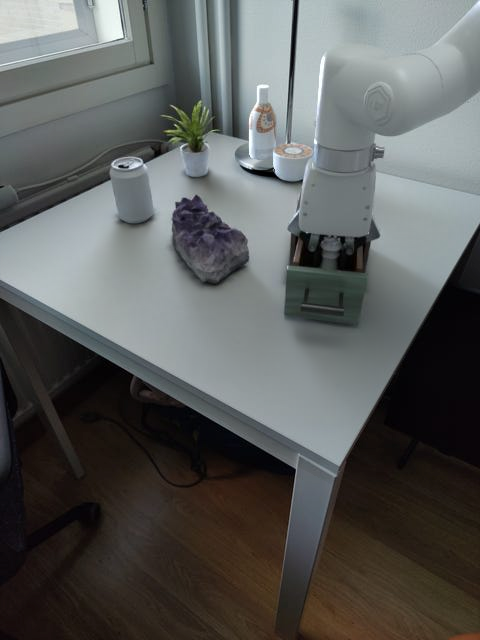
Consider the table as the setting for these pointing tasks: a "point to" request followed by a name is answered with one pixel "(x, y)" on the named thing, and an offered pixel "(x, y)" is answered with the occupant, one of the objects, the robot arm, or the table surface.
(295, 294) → the drawer
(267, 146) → the cosmetic set
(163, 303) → the table surface
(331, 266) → the rook chess piece
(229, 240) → the geode
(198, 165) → the house plant
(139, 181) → the can
